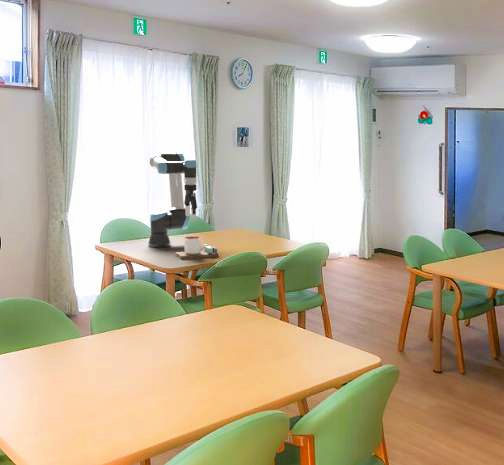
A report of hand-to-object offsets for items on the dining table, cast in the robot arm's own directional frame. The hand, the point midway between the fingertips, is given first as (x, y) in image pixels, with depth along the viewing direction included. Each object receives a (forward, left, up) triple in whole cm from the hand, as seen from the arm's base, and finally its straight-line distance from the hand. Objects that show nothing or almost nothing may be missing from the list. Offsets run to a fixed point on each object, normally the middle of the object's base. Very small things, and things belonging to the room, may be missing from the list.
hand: (190, 217), depth 394 cm
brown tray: (+8, +1, -23) cm, 25 cm away
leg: (+8, +9, -21) cm, 24 cm away
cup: (+9, -2, -22) cm, 23 cm away
